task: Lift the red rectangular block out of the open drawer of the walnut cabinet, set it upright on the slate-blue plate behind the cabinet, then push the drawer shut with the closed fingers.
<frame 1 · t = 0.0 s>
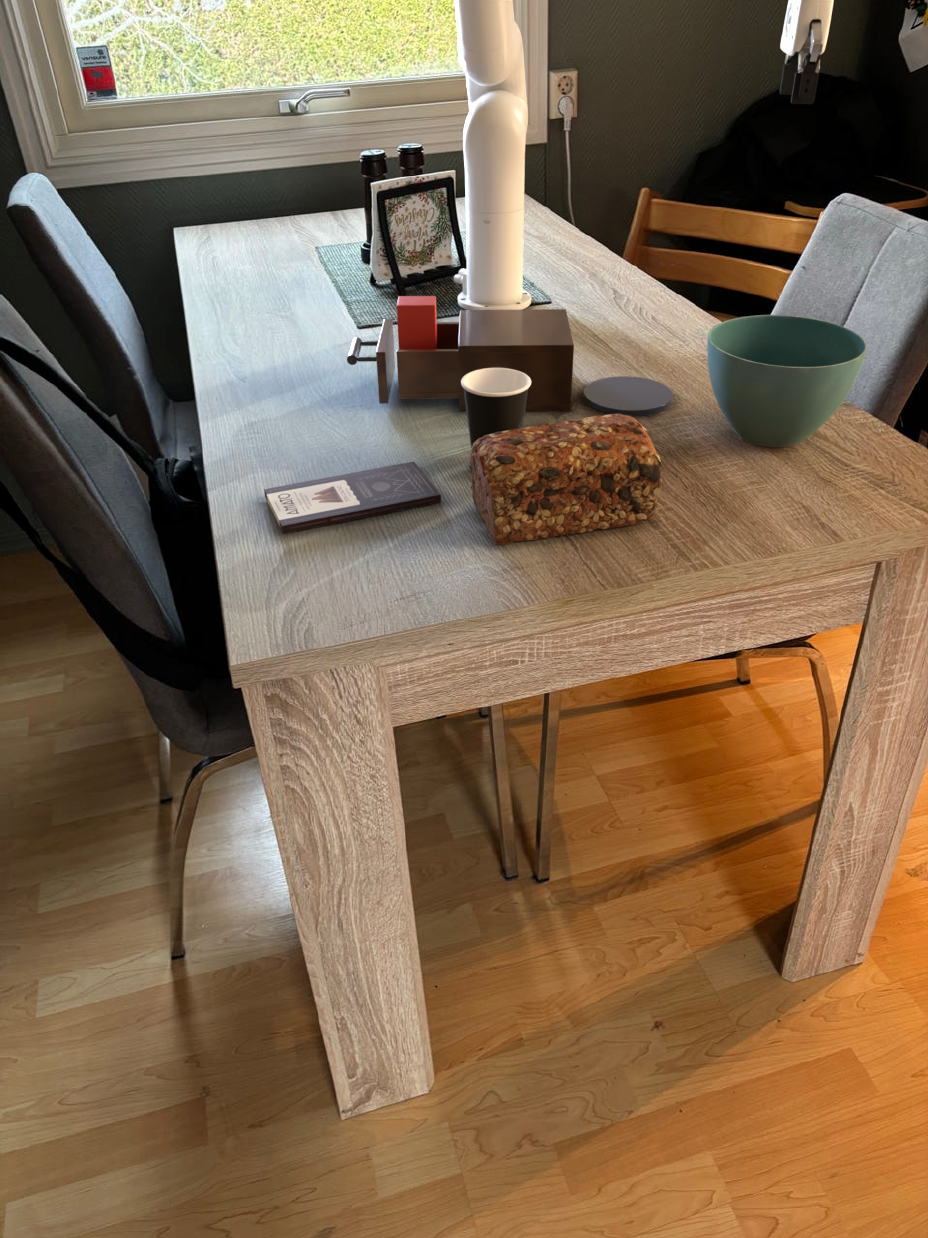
hand: (796, 98, 146), 31 cm above the table, tool pointing down, fingers open, 9 cm apart
drawer: (415, 359, 134), point 4 cm above the table, slide at 9.5 cm, touching red rectangular block
green bowl: (768, 435, 123), on the table
bread: (561, 516, 107), on the table
dixie cup: (495, 469, 116), on the table
plate: (627, 398, 133), on the table
chocolate bar: (352, 500, 110), on the table
cabinet: (513, 390, 136), on the table
red rectangular block: (419, 376, 135), point 2 cm above the table, touching drawer
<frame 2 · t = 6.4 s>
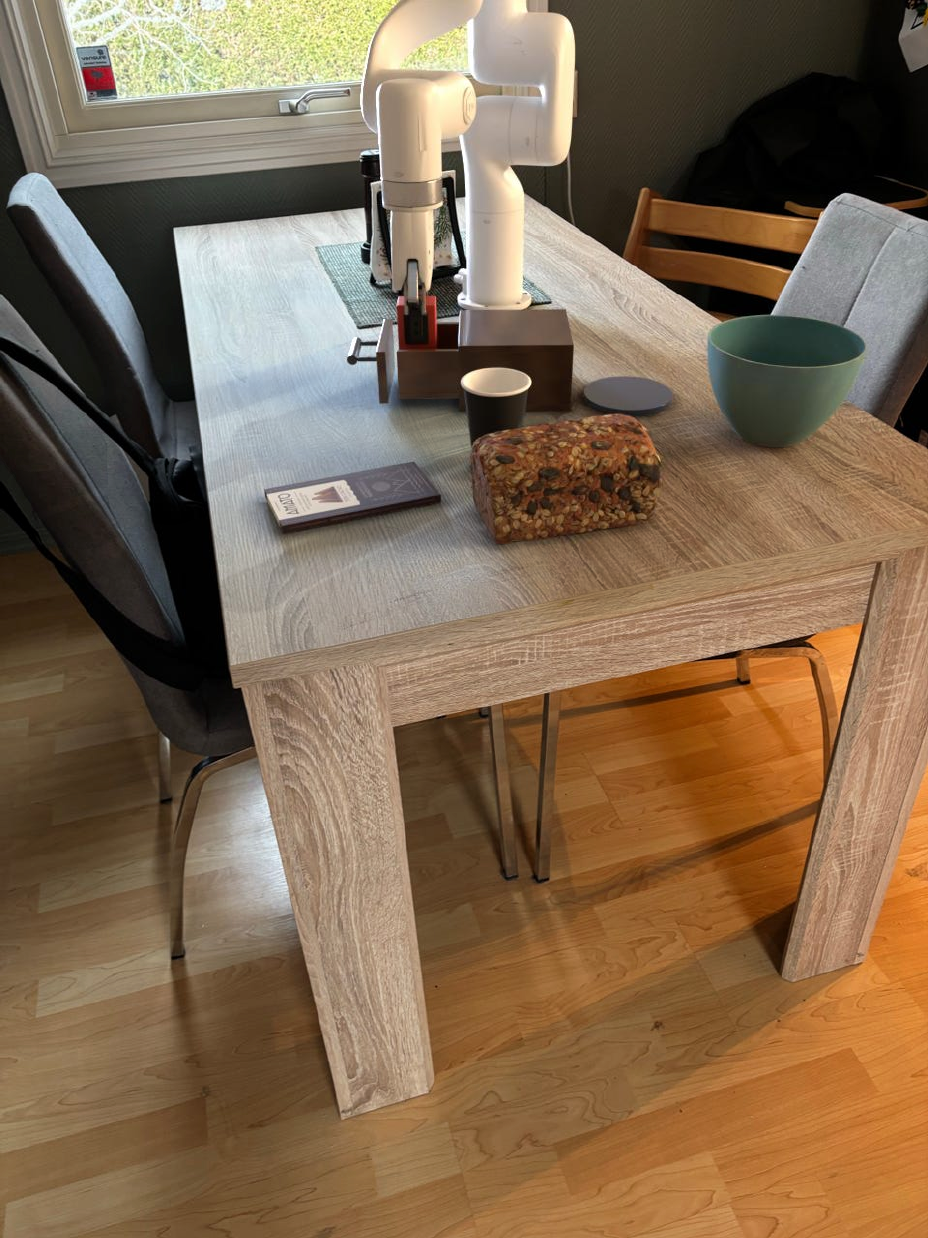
hand: (417, 336, 132), 8 cm above the table, tool pointing down, fingers closed on red rectangular block, 4 cm apart
red rectangular block: (419, 376, 135), point 2 cm above the table, touching drawer, gripper
everything else where it was.
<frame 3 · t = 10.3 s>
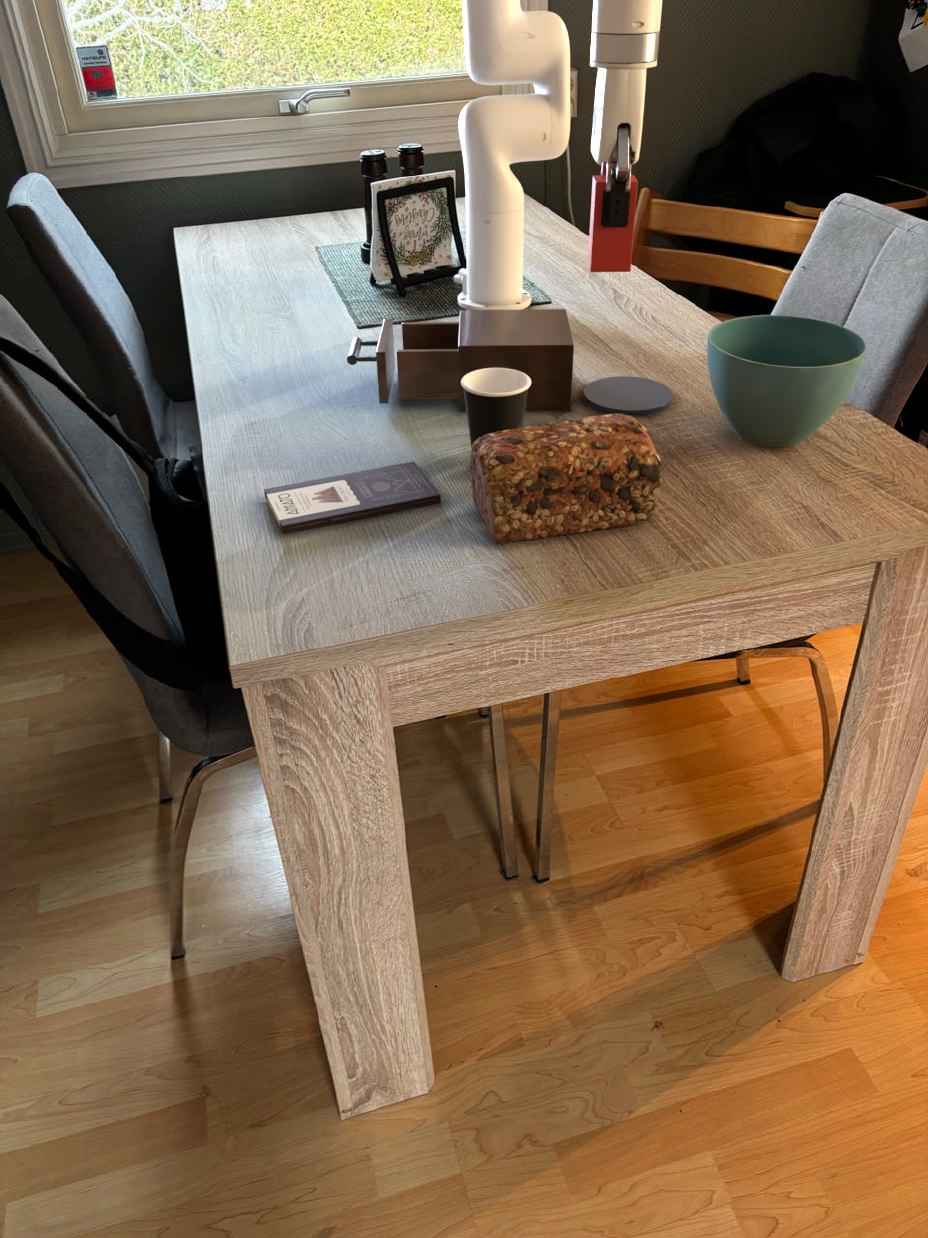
hand: (612, 220, 120), 23 cm above the table, tool pointing down, fingers closed on red rectangular block, 4 cm apart
drawer: (415, 359, 134), point 4 cm above the table, slide at 9.5 cm
red rectangular block: (608, 267, 124), point 17 cm above the table, touching gripper
everything else where it was.
when the fingers open (7 cm above the table, at t = 14.5 s): red rectangular block stays where it is, resting on plate.
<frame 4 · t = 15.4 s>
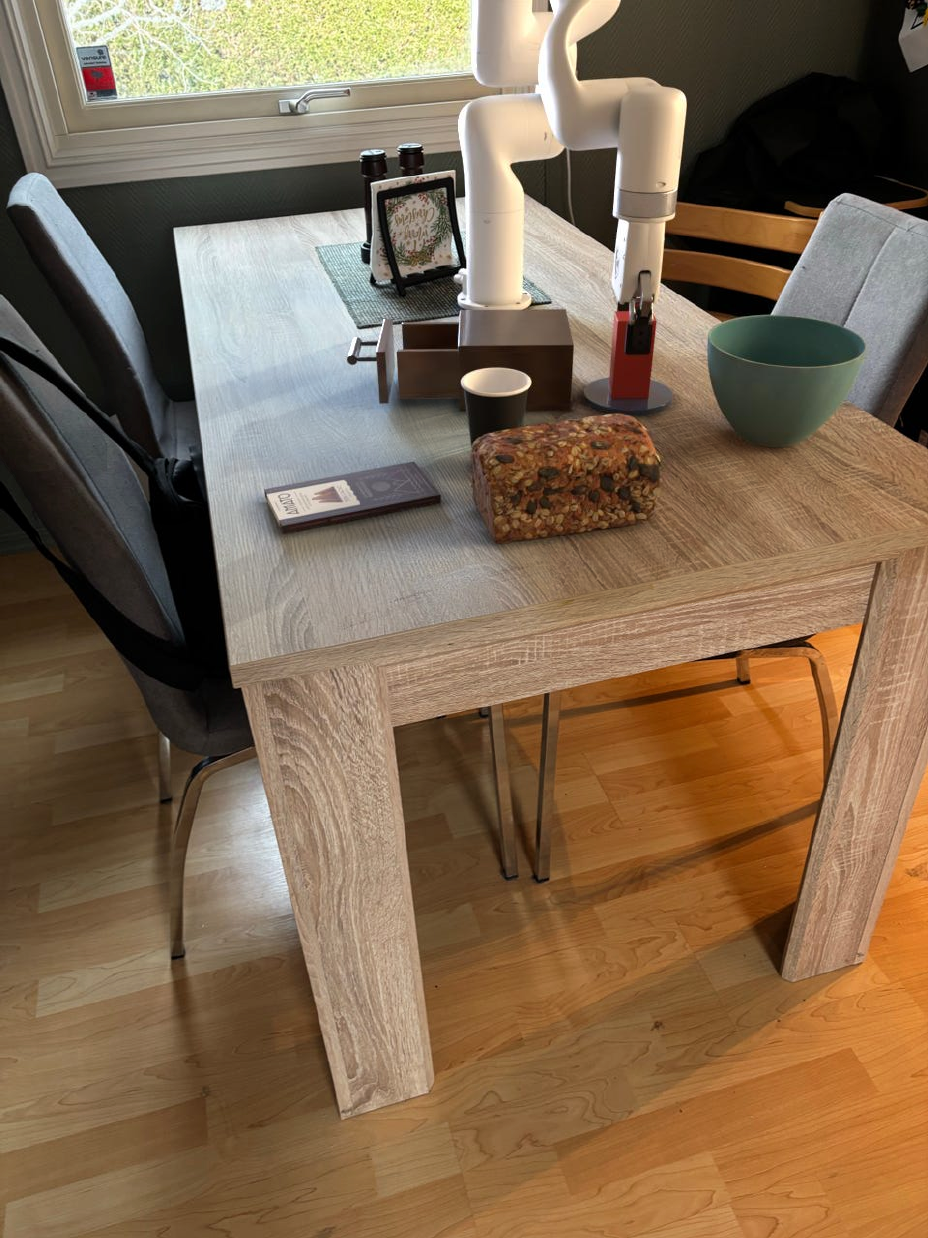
hand: (632, 340, 129), 8 cm above the table, tool pointing down, fingers open, 9 cm apart
red rectangular block: (628, 392, 133), point 1 cm above the table, touching plate
everything else where it was.
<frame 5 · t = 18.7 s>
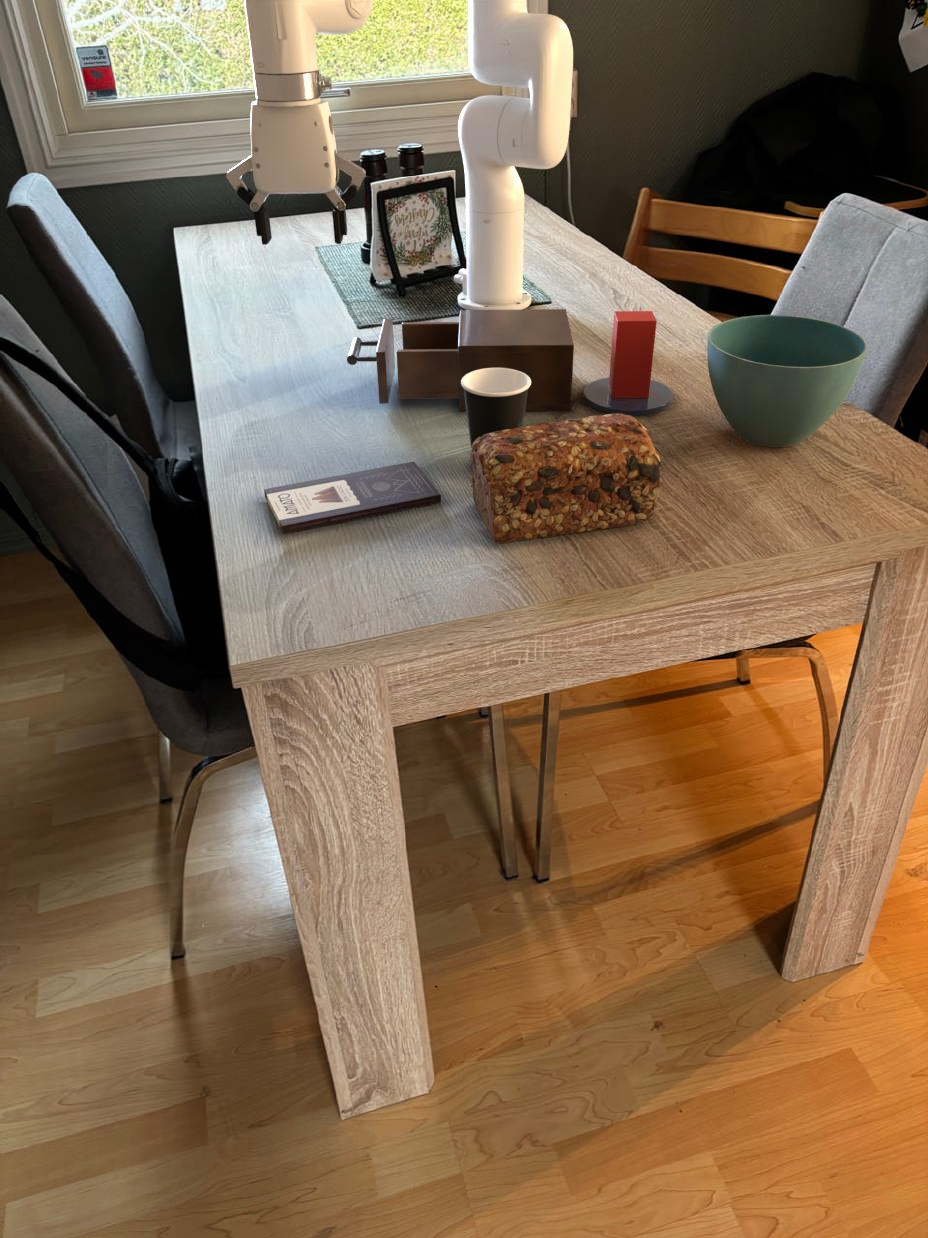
hand: (303, 241, 125), 20 cm above the table, tool pointing down, fingers open, 8 cm apart
nothing on the table moved.
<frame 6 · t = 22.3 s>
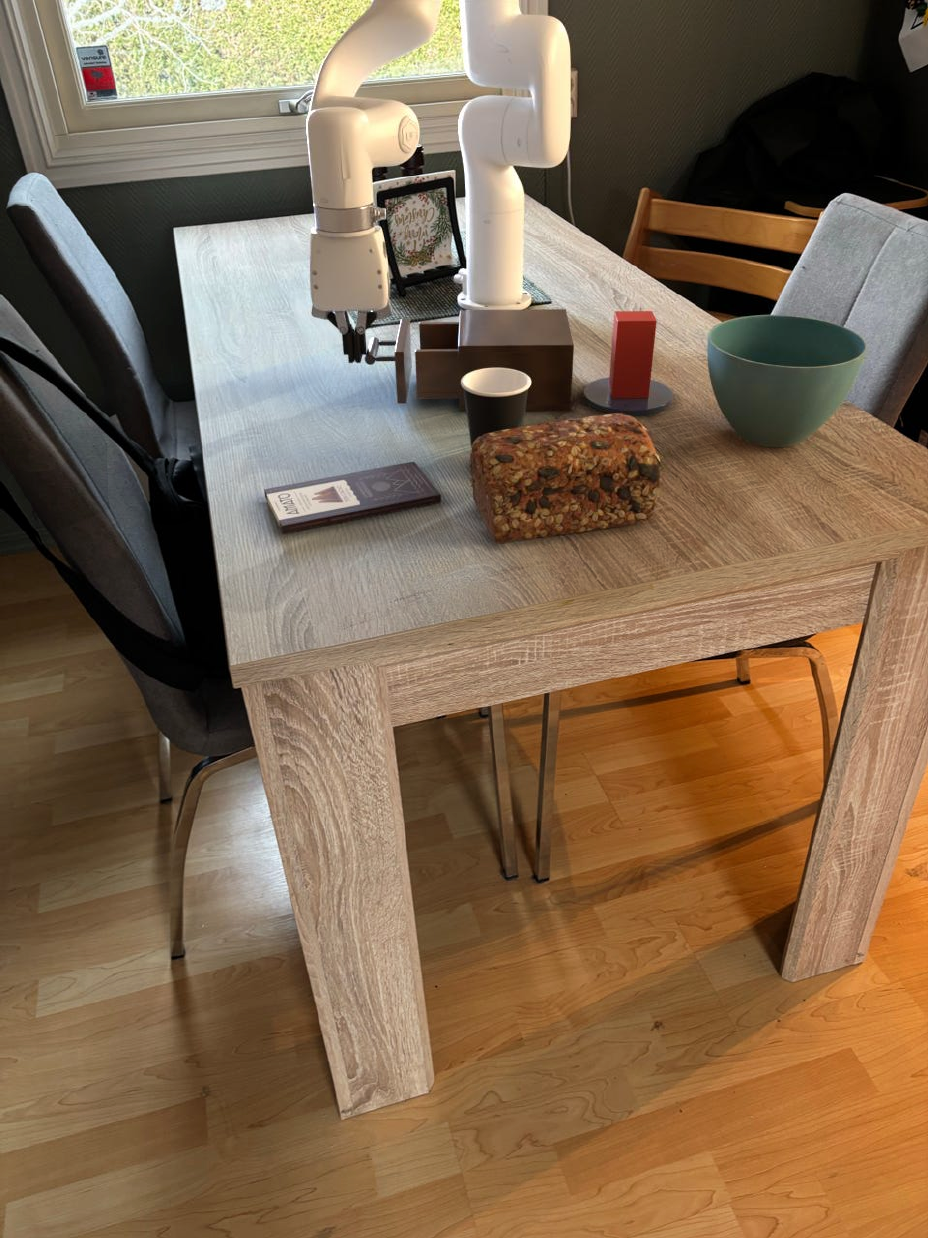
hand: (355, 359, 133), 5 cm above the table, tool pointing down, fingers closed
drawer: (433, 359, 133), point 5 cm above the table, slide at 7.1 cm, touching gripper
everything else where it was.
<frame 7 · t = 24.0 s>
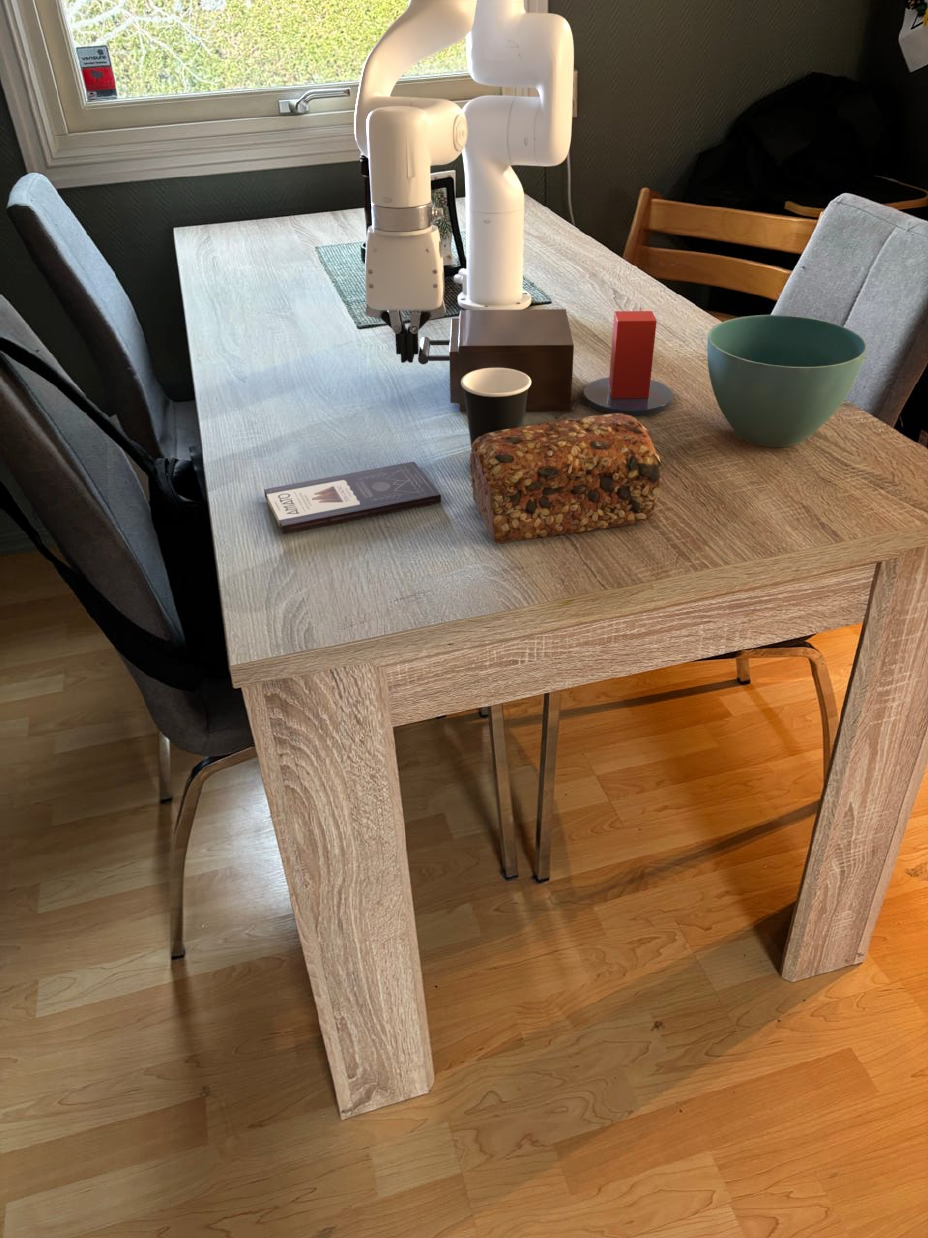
hand: (407, 358, 133), 5 cm above the table, tool pointing down, fingers closed
drawer: (485, 359, 133), point 4 cm above the table, slide at 0.0 cm, touching cabinet, gripper
everything else where it was.
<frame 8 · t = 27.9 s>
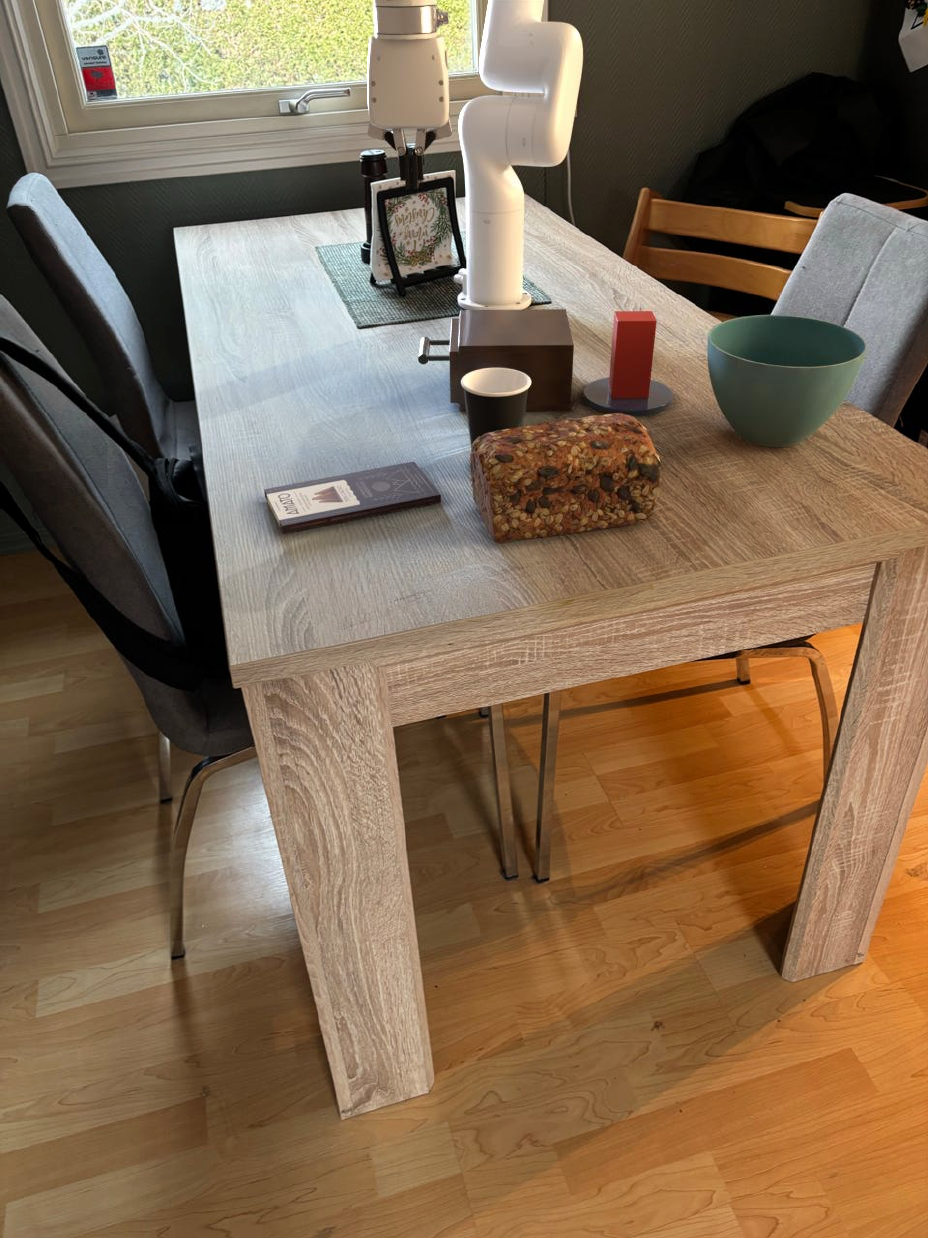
hand: (412, 186, 128), 25 cm above the table, tool pointing down, fingers closed
drawer: (485, 359, 133), point 4 cm above the table, slide at 0.0 cm, touching cabinet
everything else where it was.
at the end: red rectangular block inside the target area on the plate (0.1 cm from its centre), point 0.8 cm above the plate's base; red rectangular block tilted 0°; drawer slide at 0.0 cm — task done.
